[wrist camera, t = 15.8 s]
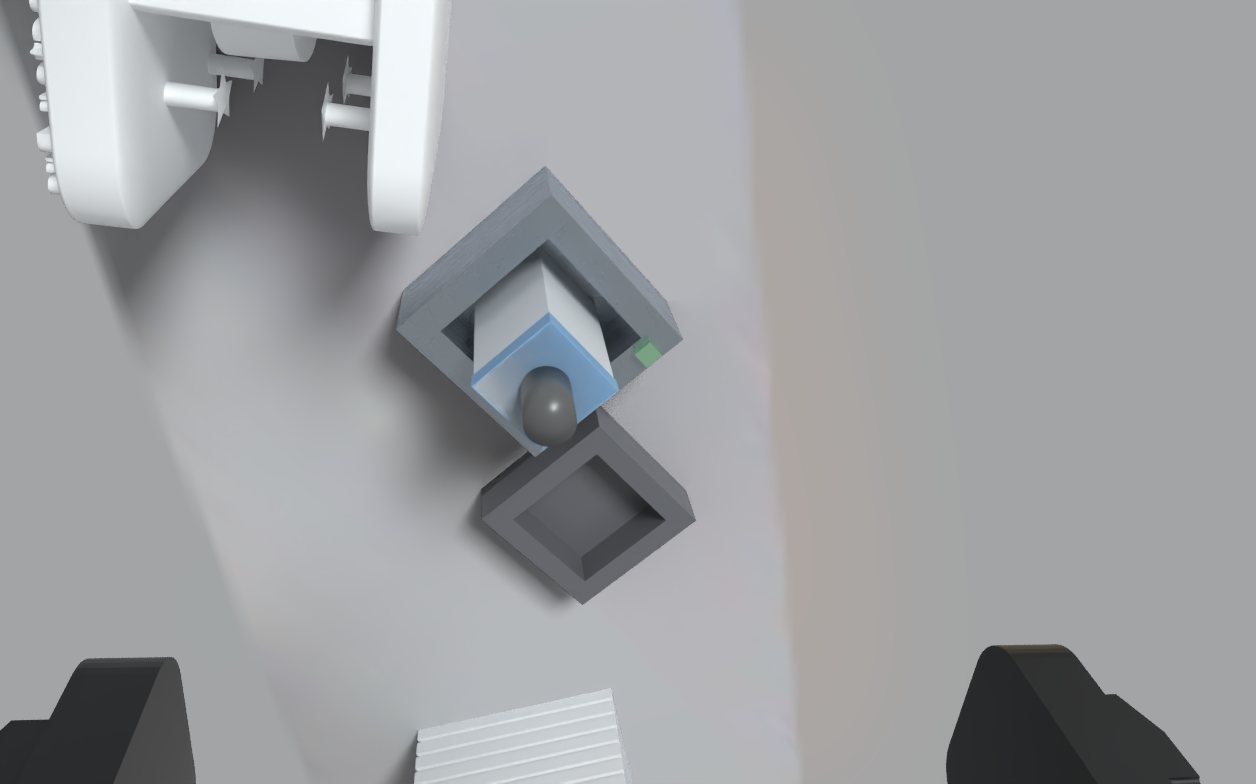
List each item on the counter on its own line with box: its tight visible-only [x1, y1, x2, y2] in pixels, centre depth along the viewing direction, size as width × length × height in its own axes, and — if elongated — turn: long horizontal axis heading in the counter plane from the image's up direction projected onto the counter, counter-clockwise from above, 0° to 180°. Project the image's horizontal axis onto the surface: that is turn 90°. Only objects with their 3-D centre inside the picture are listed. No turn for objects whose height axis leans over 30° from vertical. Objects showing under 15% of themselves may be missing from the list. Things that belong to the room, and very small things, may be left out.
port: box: [396, 166, 683, 457], centre depth 40 cm, size 8×8×4 cm
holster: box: [481, 406, 696, 605], centre depth 46 cm, size 7×7×2 cm
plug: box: [471, 246, 619, 452], centre depth 37 cm, size 4×4×10 cm
